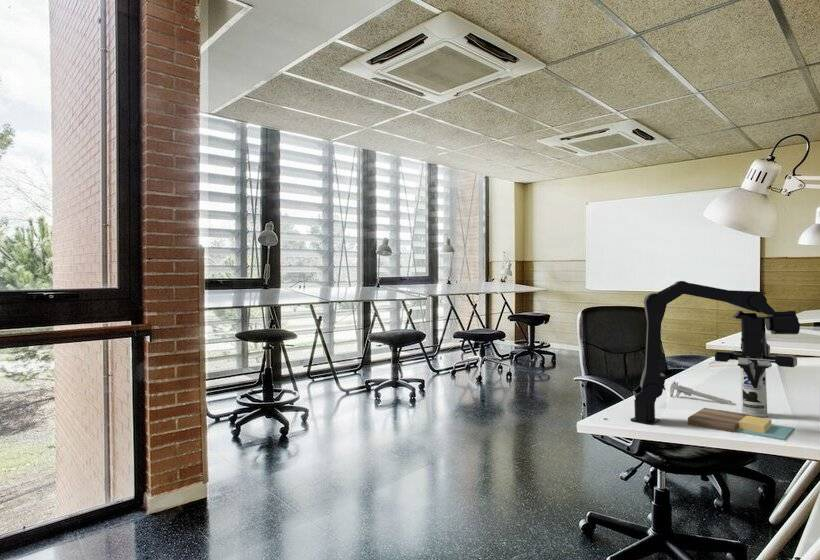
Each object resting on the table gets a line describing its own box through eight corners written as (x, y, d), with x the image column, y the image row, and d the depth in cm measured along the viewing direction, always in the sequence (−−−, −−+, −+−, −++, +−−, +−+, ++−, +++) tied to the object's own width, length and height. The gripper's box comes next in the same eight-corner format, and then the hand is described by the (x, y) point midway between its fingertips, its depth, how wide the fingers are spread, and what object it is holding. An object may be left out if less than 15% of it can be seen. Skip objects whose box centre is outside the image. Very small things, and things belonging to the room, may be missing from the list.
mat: (784, 440, 126) (784, 438, 126) (737, 432, 134) (737, 430, 134) (794, 429, 136) (794, 427, 136) (750, 421, 144) (750, 420, 144)
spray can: (739, 415, 151) (737, 352, 152) (744, 411, 156) (742, 350, 156) (765, 419, 146) (762, 354, 147) (769, 414, 151) (767, 351, 152)
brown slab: (734, 432, 134) (734, 425, 134) (687, 424, 143) (687, 417, 143) (749, 420, 145) (748, 414, 145) (704, 413, 154) (704, 407, 154)
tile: (764, 433, 132) (764, 425, 132) (738, 428, 136) (738, 421, 136) (771, 426, 138) (771, 419, 138) (746, 422, 142) (746, 415, 142)
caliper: (670, 397, 178) (669, 380, 178) (671, 397, 179) (670, 380, 179) (735, 406, 164) (734, 387, 164) (735, 405, 164) (735, 387, 165)
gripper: (799, 333, 136) (802, 388, 135) (724, 330, 150) (726, 380, 149) (792, 336, 128) (794, 394, 128) (713, 333, 142) (715, 385, 142)
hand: (755, 388), depth 137 cm, fingers closed
